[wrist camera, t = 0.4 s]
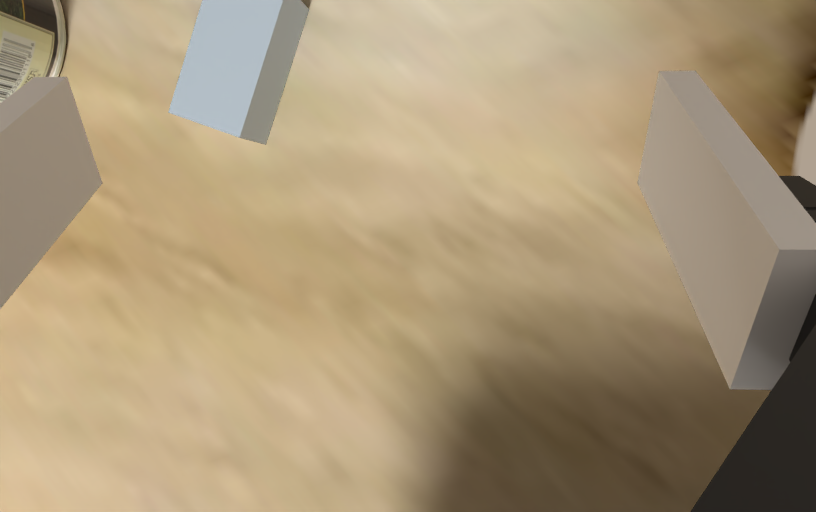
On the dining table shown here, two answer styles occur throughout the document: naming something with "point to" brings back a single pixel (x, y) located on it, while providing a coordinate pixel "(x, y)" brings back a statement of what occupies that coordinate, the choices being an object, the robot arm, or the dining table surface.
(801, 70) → the dining table surface
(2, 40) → the coffee can
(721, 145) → the robot arm
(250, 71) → the blue grey brick
